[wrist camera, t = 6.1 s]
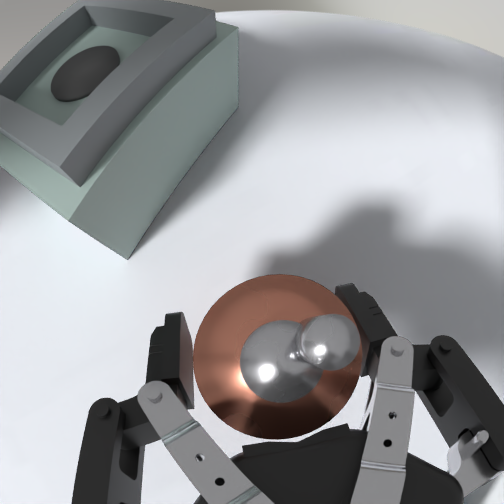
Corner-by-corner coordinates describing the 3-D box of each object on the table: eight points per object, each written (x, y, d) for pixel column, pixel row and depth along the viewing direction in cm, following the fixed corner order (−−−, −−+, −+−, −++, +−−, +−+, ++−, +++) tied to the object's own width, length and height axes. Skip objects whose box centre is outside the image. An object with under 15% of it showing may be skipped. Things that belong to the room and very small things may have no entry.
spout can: (244, 398, 18) (249, 495, 6) (202, 326, 19) (142, 325, 7) (317, 356, 19) (418, 391, 7) (275, 285, 20) (326, 224, 8)
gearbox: (127, 260, 20) (44, 204, 10) (27, 185, 21) (-46, 124, 11) (263, 77, 23) (273, -21, 14) (155, 41, 25) (136, -40, 15)
